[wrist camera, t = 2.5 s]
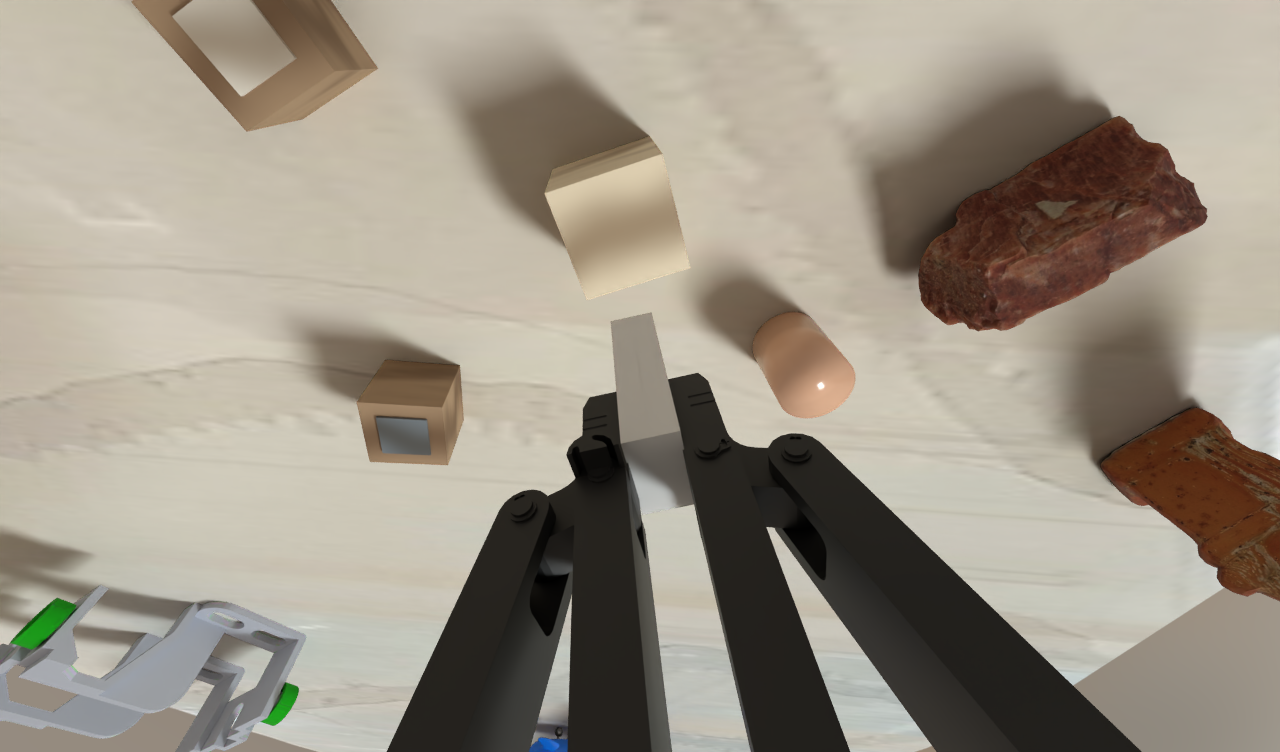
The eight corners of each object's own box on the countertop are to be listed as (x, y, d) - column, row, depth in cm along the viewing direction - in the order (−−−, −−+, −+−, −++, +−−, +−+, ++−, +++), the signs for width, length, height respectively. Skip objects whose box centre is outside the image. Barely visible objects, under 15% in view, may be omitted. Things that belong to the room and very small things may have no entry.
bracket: (110, 546, 49) (13, 644, 41) (323, 639, 62) (282, 729, 54) (19, 613, 54) (-85, 713, 46) (234, 687, 67) (184, 776, 58)
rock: (910, 303, 41) (980, 360, 34) (884, 247, 38) (956, 296, 31) (1139, 166, 36) (1281, 198, 29) (1133, 87, 33) (1290, 100, 26)
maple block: (552, 169, 33) (544, 193, 27) (649, 135, 32) (662, 153, 26) (587, 261, 37) (586, 300, 31) (674, 233, 36) (690, 268, 30)
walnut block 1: (215, 11, 27) (127, 1, 22) (296, -50, 26) (223, -76, 21) (303, 119, 30) (244, 132, 25) (378, 68, 29) (333, 71, 24)
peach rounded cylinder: (750, 320, 41) (776, 364, 35) (819, 305, 41) (857, 346, 35) (754, 376, 44) (779, 424, 38) (818, 362, 44) (853, 409, 38)
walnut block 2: (385, 359, 40) (355, 403, 35) (460, 364, 41) (441, 409, 36) (395, 415, 43) (368, 463, 38) (463, 419, 44) (447, 466, 39)
